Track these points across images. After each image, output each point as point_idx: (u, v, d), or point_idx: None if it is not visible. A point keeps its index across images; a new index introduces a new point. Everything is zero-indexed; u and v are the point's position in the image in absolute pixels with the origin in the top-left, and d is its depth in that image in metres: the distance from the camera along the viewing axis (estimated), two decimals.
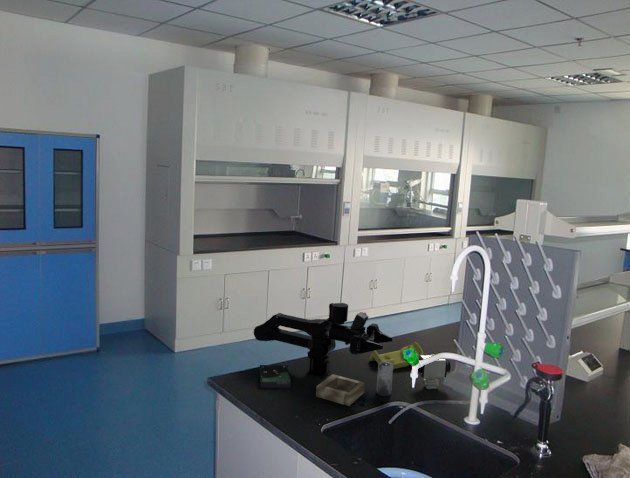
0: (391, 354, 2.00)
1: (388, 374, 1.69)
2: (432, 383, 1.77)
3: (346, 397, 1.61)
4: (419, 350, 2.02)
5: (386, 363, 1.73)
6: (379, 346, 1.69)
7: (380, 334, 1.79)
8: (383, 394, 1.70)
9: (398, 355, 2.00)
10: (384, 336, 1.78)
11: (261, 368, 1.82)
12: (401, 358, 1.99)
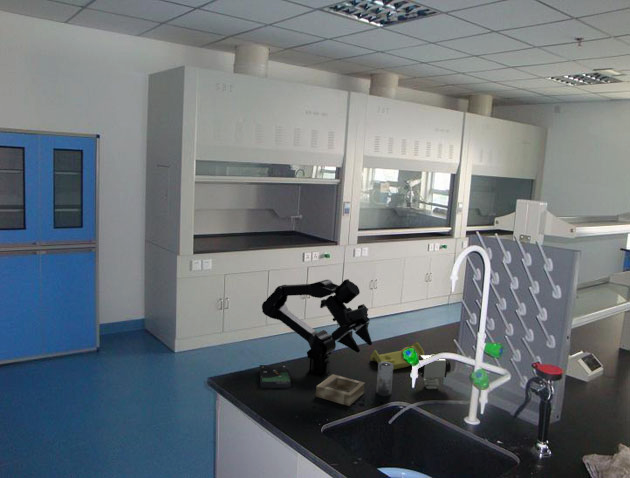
0: (392, 354, 1.99)
1: (388, 374, 1.69)
2: (432, 383, 1.77)
3: (346, 397, 1.61)
4: (420, 351, 2.01)
5: (386, 363, 1.73)
6: (356, 349, 1.71)
7: (365, 332, 1.80)
8: (383, 394, 1.70)
9: (399, 355, 2.00)
10: (367, 336, 1.80)
11: (261, 368, 1.82)
12: (402, 358, 1.98)
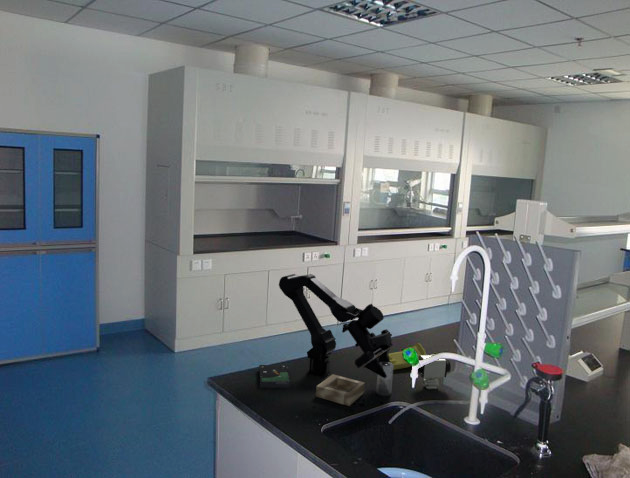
0: (393, 355, 1.99)
1: (389, 374, 1.69)
2: (432, 383, 1.77)
3: (346, 397, 1.61)
4: (422, 351, 2.00)
5: (386, 362, 1.73)
6: (383, 375, 1.69)
7: (386, 359, 1.74)
8: (383, 394, 1.70)
9: (400, 356, 1.99)
10: None
11: (261, 368, 1.82)
12: (403, 359, 1.98)
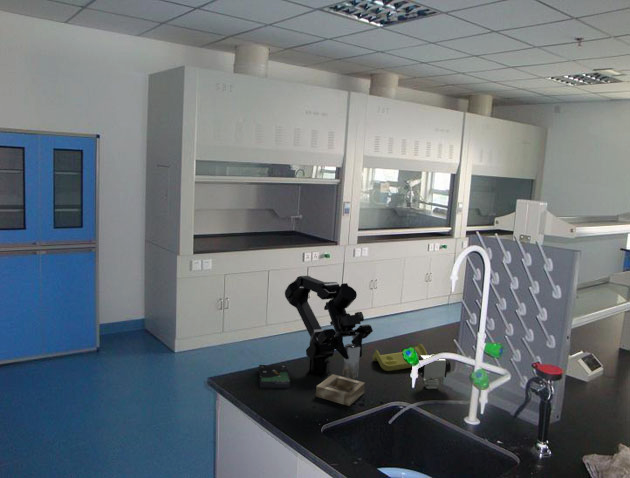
0: (394, 355, 1.99)
1: (351, 356, 1.65)
2: (432, 383, 1.77)
3: (346, 397, 1.61)
4: (424, 352, 1.99)
5: (355, 345, 1.68)
6: (344, 355, 1.65)
7: (357, 342, 1.69)
8: (346, 376, 1.66)
9: (401, 356, 1.99)
10: None
11: (260, 368, 1.82)
12: None
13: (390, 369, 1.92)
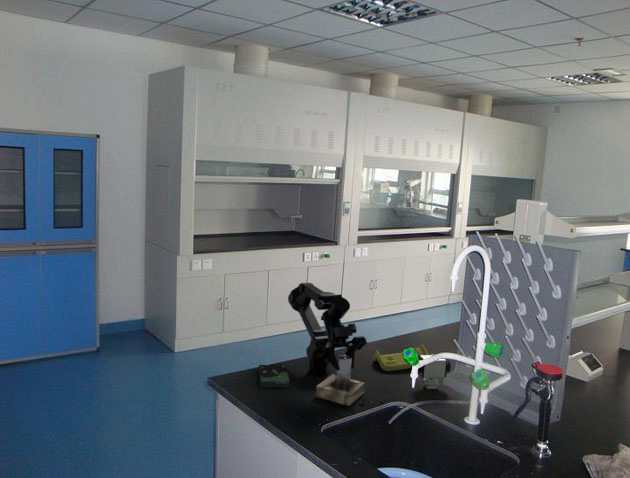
0: (395, 355, 1.99)
1: (342, 367, 1.65)
2: (432, 383, 1.77)
3: (346, 397, 1.61)
4: (425, 353, 1.99)
5: (347, 357, 1.68)
6: (335, 367, 1.66)
7: (350, 354, 1.70)
8: (337, 387, 1.67)
9: (402, 357, 1.98)
10: None
11: (260, 368, 1.82)
12: None
13: (390, 369, 1.92)
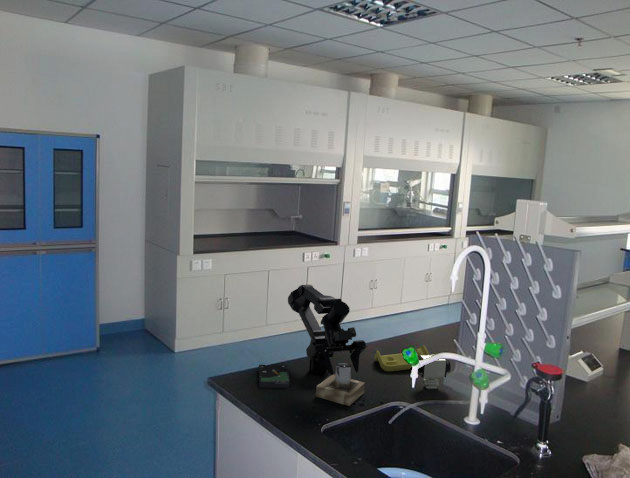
0: (396, 356, 1.98)
1: (341, 376, 1.66)
2: (432, 383, 1.77)
3: (346, 397, 1.61)
4: (426, 354, 1.98)
5: (346, 365, 1.68)
6: (330, 371, 1.65)
7: (355, 357, 1.70)
8: None
9: None
10: (355, 362, 1.70)
11: (260, 368, 1.82)
12: None
13: (390, 369, 1.91)
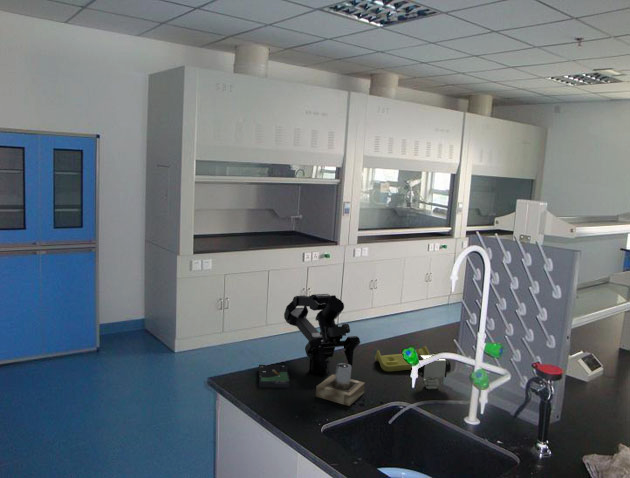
0: (397, 356, 1.98)
1: (341, 376, 1.66)
2: (432, 383, 1.77)
3: (346, 397, 1.61)
4: None
5: (346, 365, 1.68)
6: (324, 366, 1.69)
7: (349, 353, 1.75)
8: None
9: None
10: (349, 358, 1.74)
11: (260, 368, 1.82)
12: None
13: (390, 370, 1.91)
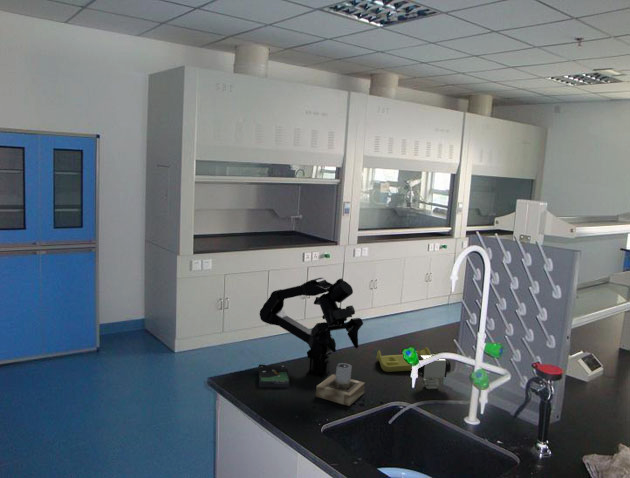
0: (398, 357, 1.97)
1: (342, 376, 1.66)
2: (432, 383, 1.77)
3: (346, 397, 1.61)
4: None
5: (346, 365, 1.69)
6: (332, 348, 1.70)
7: (354, 334, 1.77)
8: None
9: None
10: (354, 339, 1.76)
11: (260, 367, 1.82)
12: None
13: (390, 370, 1.91)
